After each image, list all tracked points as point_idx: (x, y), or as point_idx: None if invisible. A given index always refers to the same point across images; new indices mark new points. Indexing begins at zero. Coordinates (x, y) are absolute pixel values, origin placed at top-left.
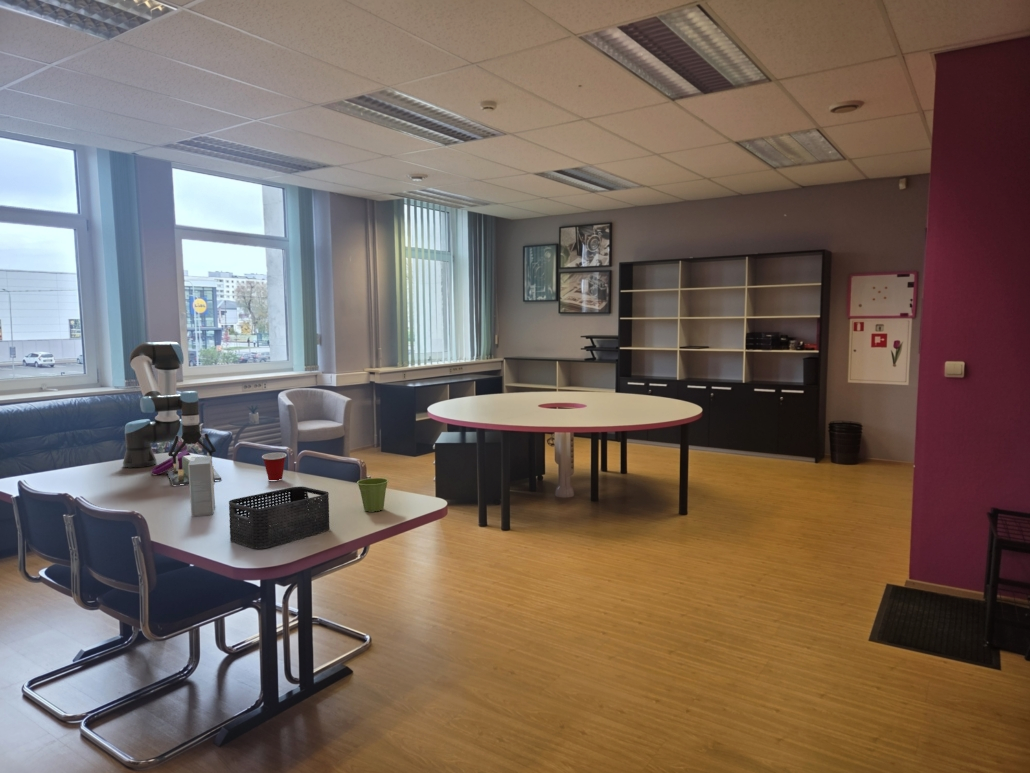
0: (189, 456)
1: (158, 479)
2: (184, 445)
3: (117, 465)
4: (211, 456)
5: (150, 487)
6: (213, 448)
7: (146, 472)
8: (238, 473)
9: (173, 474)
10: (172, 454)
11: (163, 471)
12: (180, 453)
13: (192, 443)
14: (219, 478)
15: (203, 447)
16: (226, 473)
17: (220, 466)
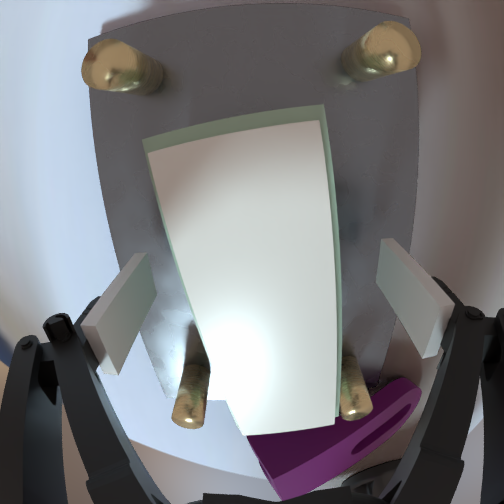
0: (291, 397)
1: None
2: (422, 448)
3: None
4: (83, 316)
5: (491, 95)
6: (20, 363)
7: (409, 419)
8: (28, 226)
9: (376, 306)
10: (488, 332)
11: (390, 384)
12: (305, 488)
13: (268, 501)
14: (101, 37)
15: (99, 402)
16: (79, 260)
17: (145, 414)
